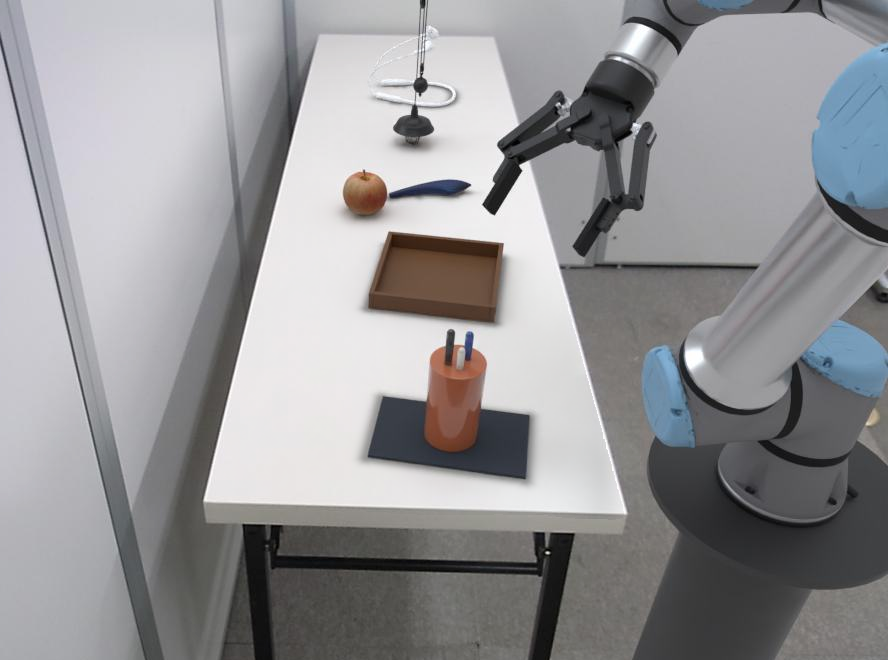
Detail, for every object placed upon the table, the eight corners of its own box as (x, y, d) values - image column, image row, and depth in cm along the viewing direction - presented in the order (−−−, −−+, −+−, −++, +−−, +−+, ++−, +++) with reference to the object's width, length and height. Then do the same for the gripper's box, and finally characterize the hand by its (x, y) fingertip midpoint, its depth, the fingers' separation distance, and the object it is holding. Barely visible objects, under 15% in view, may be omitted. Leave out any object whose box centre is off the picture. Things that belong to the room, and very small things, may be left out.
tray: (502, 257, 153) (504, 242, 151) (493, 322, 138) (496, 307, 136) (388, 245, 155) (388, 231, 154) (368, 308, 141) (368, 293, 139)
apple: (336, 204, 167) (336, 163, 161) (377, 198, 168) (378, 158, 163) (350, 224, 161) (350, 183, 156) (392, 218, 163) (393, 177, 158)
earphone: (369, 63, 211) (430, 15, 202) (411, 119, 218) (472, 76, 209) (358, 84, 201) (422, 35, 192) (403, 142, 208) (467, 98, 198)
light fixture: (440, 153, 184) (452, -10, 163) (400, 157, 182) (408, -7, 162) (426, 133, 191) (436, -25, 170) (387, 137, 189) (393, -23, 169)
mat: (529, 417, 121) (529, 414, 121) (525, 479, 112) (525, 476, 112) (382, 398, 124) (382, 395, 124) (367, 457, 115) (367, 454, 115)
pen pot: (479, 420, 120) (493, 314, 109) (474, 455, 115) (489, 348, 104) (427, 413, 121) (436, 308, 110) (420, 448, 116) (429, 341, 105)
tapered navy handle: (391, 206, 168) (391, 196, 166) (387, 194, 170) (387, 184, 168) (472, 195, 170) (474, 185, 168) (468, 184, 172) (469, 173, 170)
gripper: (730, 122, 102) (628, 282, 104) (553, 64, 116) (466, 206, 118) (719, 88, 96) (610, 259, 98) (533, 30, 110) (441, 181, 112)
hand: (531, 230), depth 108 cm, fingers open, 13 cm apart
